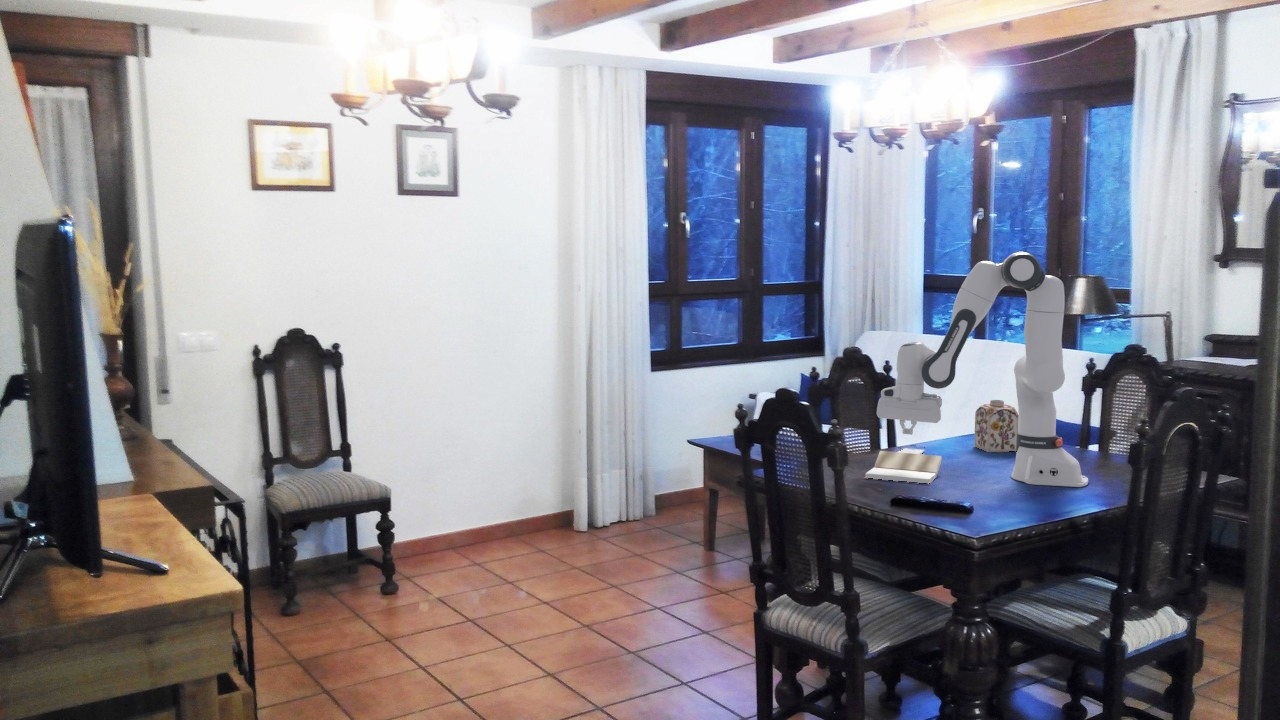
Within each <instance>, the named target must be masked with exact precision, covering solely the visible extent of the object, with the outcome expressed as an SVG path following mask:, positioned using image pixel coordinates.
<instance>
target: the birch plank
mask: <svg viewBox="0 0 1280 720" xmlns="http://www.w3.org/2000/svg"><path fill="white" fill-rule="evenodd" d="M942 458H943V456H942V455H935V454H934V455H933V454H925V453H923V454H912V453H900V452H898V451H886V450H879V453H878V456H877V458H876V461H875V463H874V466H873V468H885V469H896V470H907V471H918V472H929V473H936V477H937V476H938V473H939V470H940V467H941V463H942V461H943V459H942Z"/></svg>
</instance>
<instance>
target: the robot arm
mask: <svg viewBox="0 0 1280 720" xmlns="http://www.w3.org/2000/svg"><path fill="white" fill-rule="evenodd" d="M1040 263H1041V262H1040V261H1039V260H1038V259H1037V257H1035V256H1034V255H1033V254H1031V253H1030V252H1029V253H1028V252H1025V251H1018V252H1013V253H1011V254H1010V255H1009V256H1007V257H1006V258H1005V259H1004V260H1002V261H1001V262H999V263H995V262H993V261H988V260H982V261H979V262H977V263H976V264H975V265H974V266H973V268H972V269H971V270H970V272H968V274H967V276H966V277H965V279H964V281H963V282H962V284H961V286H960V288H959V290H958V292H957V295H956V298H955V300H954V304H953V307H952V315H951V321H950V324H949V328H948V330H947V332H946V334H945V336H944V338H943V339H942V342H941V344H940V345H939V348H938V350H934V349H933V348H930V346H928V345H926V344H925V343H924V342H921V341H914V342H908V343H905V344H902V345H901V346H900V347H899V348H898V352H897V357H896V372H897V376H896V380H895V385H892V386H889V387H885V388H883V389H882V390H881V391H880V398H879V399H878V402H877V407H876V417H878V419H886V420H887V419H888V420H898V421H899V425H900V426H901V429H902V434H903V435H913V433H914V428H916V425H917V423H918V422H921V423H931V424H932V423H933V424H937V423H939V422H940V421H941V418H942V411H941V407H942V405H943V399H942V397H941V396H940V395H938V394H937V393H927V392H926V393H925V391H924V390H925V388H924V387H925V384H926V385H927V386H929V387H930V388H932V389H937V390H939V389H945V388H947V387H948V386H950V385H951V384H952V383H953V382H954V380H955V378H956V368H957V367H956V366H957V361H958V358H959V356H960V354H961V352H962V350H963V348H964V347H965V344H966V342H967V341H968V338H969V336H970V335H971V333H972V332H973V331H974V330H975V329H976V327H977V326H978V325H979V324H980V323H981V322H982V320H984V318H985V317H986V316H987V314H988V313H989V311H990V310H991V308H992V306H993V305H994V303H995V300H996V298H997V296H998V295H999V293H1000V292H1001V290H1002V289H1003V288H1005V287H1012V288H1017V289H1021V290H1024V291H1025V292H1026V293H1025V294H1026V308H1025V317H1024V326H1023V327H1024V328H1023V338H1024V345H1025V346H1024V347H1025V355H1023V356H1022V357H1020V358H1018V360H1017V361H1016V362H1015V365H1014V369H1013V371H1014V378H1015V386H1016V387H1015V388H1016V397H1017V406H1018V433H1017V435H1016V451H1017V452H1015V453H1016V454H1015V460H1014V464H1013V465H1014V466H1013V469H1012V473H1011V474H1010V477H1011V478H1012V479H1013V480H1015V481H1018V482H1023V483H1025V484H1027V485H1035V486H1036V485H1037V486H1053V487H1054V486H1055V487H1057V486H1058V487H1071V488H1072V487H1073V488H1074V487H1075V488H1081V487H1085V486H1087V485H1088V484H1089V478H1088V477H1087V476H1086V475H1082V471H1081V465H1080V463H1079V460H1078V459H1077V458H1075V457H1074V456H1073V455H1072V454H1070V453H1069V452H1068V451H1066V450H1065V449H1064V448H1063V445H1064V444H1063V443H1064V442H1063V438H1062V437H1060V436H1058V435H1057V434H1056V431H1057V429H1056V428H1057V408H1056V405H1055V400H1054V392H1057V391H1058V390H1059V389H1061V388H1062V386H1063V384H1064V382H1065V380H1066V375H1065V374H1066V373H1065V371H1064V358H1063V357H1064V356H1063V343H1062V342H1063V341H1062V340H1063V338H1062V336H1063V326H1064V316H1065V301H1066V300H1065V297H1066V295H1065V286H1064V283H1063V281H1062V280H1061V279H1060V278H1059V277H1056V276H1054V275H1047V274H1045V271H1044V270H1043V268H1042V266H1041V264H1040ZM906 421H909V422H910V425H911V427H910V428H909V427H906V425H905V423H906Z"/></svg>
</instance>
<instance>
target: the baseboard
mask: <svg viewBox="0 0 1280 720" xmlns="http://www.w3.org/2000/svg"><path fill="white" fill-rule="evenodd" d="M908 447H917V445H916V444H913V445H911V444H910V446H908ZM908 447H904V448H901V447H899V450H898V451H897V452H900V453H912V454H922V453H923V452H924V451H925V452H926V447H925V446H924V447H923V446H922V447H920V448H921V449H917V448H908ZM922 448H923V449H922ZM902 449H903V450H902ZM900 450H901V451H900ZM923 454H924V453H923Z"/></svg>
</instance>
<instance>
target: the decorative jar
mask: <svg viewBox="0 0 1280 720" xmlns="http://www.w3.org/2000/svg"><path fill="white" fill-rule="evenodd" d="M974 414H975V416H974V439H973V440H974V448H976V447H977V448H976V449H978V448H979V450H981V449H982V450H981V451H983V450H984V451H983V452H985V451H986V453H988V452H997V453H1010V452H1009V451H1016V435H1017V433H1018V414H1019V412H1018V411H1017V409H1016V408H1015V407H1014V406H1013V405H1009V404H1005V401H1004V400H1001V399H991V400H990V402H989V403H985V404H981V405H980V406H979V407H978V408H976V411H975V413H974Z"/></svg>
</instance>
